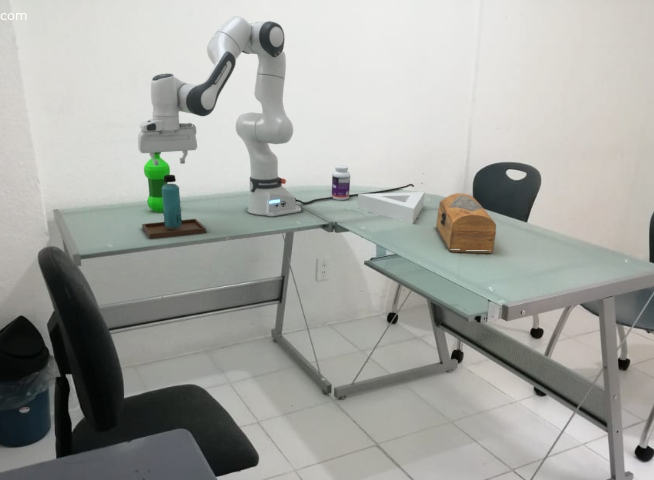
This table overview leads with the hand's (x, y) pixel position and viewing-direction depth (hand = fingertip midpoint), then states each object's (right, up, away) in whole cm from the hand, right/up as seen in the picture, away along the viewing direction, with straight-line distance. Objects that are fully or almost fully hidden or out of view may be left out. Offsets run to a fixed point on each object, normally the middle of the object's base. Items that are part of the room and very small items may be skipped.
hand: (169, 164), depth 214 cm
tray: (-1, -22, +10) cm, 25 cm away
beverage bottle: (-1, -22, +10) cm, 24 cm away
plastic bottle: (-12, -11, +35) cm, 39 cm away
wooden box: (+105, -26, +6) cm, 109 cm away
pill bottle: (+64, -2, +60) cm, 88 cm away
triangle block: (+90, -10, +43) cm, 100 cm away
